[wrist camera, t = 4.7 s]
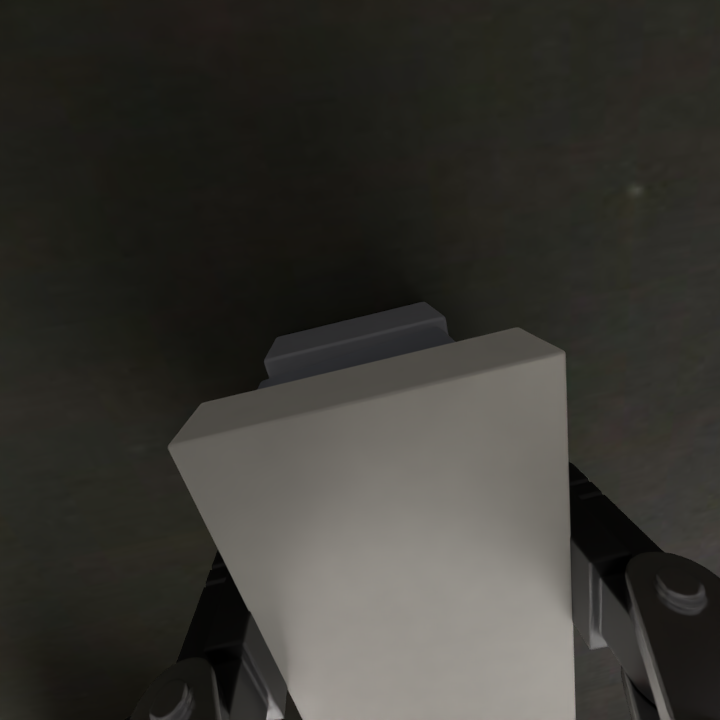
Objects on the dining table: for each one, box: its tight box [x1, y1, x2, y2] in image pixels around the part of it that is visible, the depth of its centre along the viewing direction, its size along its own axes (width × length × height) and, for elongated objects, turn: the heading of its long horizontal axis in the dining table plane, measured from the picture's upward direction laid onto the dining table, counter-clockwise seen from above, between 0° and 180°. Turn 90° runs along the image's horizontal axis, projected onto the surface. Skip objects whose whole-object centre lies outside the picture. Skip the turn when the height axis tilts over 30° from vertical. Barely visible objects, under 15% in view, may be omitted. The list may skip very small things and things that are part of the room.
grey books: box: [257, 302, 455, 390], centre depth 10 cm, size 9×5×4 cm, turn 13°
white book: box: [168, 327, 576, 720], centre depth 7 cm, size 9×6×1 cm, turn 13°
